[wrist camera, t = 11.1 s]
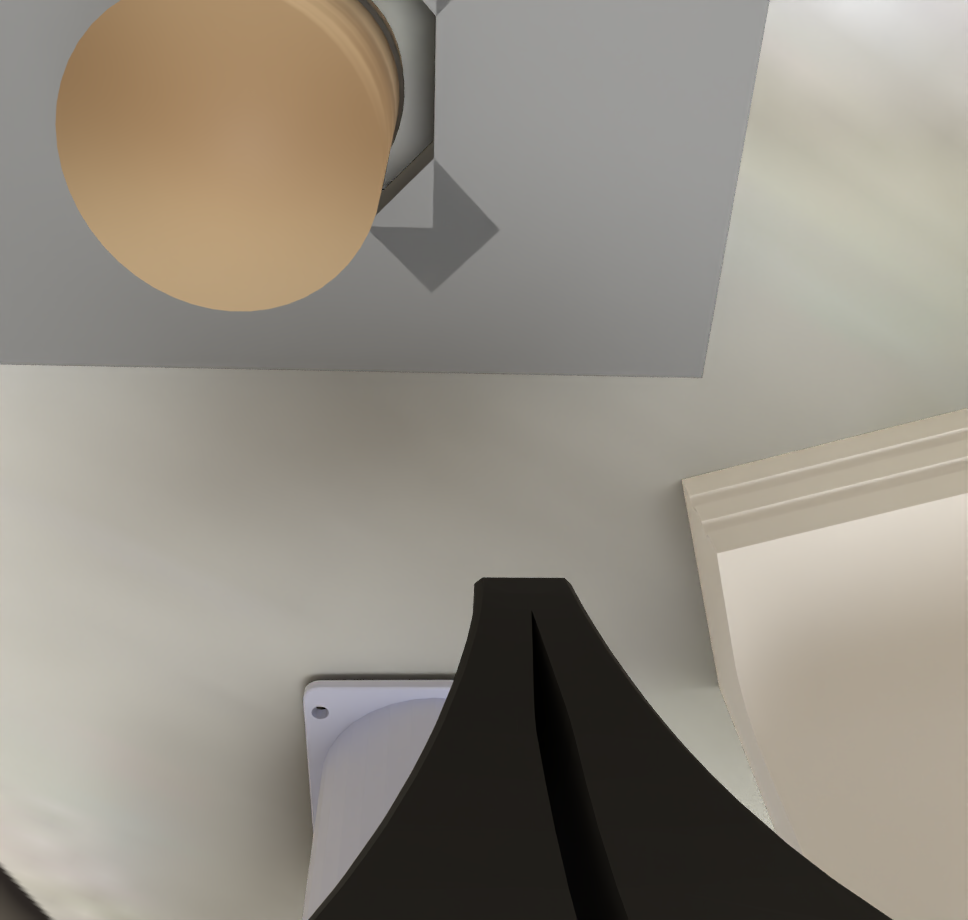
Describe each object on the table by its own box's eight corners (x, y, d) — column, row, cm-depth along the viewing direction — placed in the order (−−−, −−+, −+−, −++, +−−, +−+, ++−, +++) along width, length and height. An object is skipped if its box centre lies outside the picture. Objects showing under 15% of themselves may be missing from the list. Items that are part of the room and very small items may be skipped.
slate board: (680, 345, 22) (702, 377, 21) (-61, 328, 21) (-104, 362, 20) (779, -257, 17) (819, -283, 15) (-238, -326, 15) (-323, -361, 14)
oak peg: (402, 182, 20) (384, 326, 12) (215, 168, 20) (74, 307, 12) (411, -27, 18) (395, -13, 10) (202, -47, 18) (22, -47, 10)
